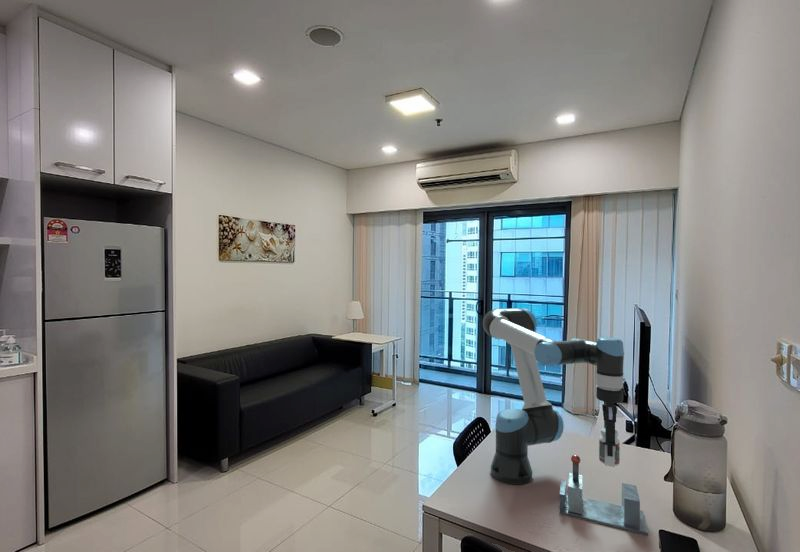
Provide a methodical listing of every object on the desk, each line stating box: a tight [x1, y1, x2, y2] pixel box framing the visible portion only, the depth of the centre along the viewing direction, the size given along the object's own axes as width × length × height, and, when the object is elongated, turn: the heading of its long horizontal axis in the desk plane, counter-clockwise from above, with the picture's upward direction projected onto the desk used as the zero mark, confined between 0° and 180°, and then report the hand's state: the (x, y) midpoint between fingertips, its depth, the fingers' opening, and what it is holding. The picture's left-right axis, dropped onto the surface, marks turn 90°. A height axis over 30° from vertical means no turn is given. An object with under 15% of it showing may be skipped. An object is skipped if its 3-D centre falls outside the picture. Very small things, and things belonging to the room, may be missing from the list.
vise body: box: [558, 479, 649, 536], centre depth 127 cm, size 24×12×9 cm, turn 65°
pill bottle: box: [598, 427, 621, 467], centre depth 126 cm, size 6×6×10 cm
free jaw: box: [567, 454, 583, 514], centre depth 130 cm, size 4×10×16 cm, turn 155°
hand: (609, 461), depth 126 cm, fingers closed on pill bottle, 6 cm apart
